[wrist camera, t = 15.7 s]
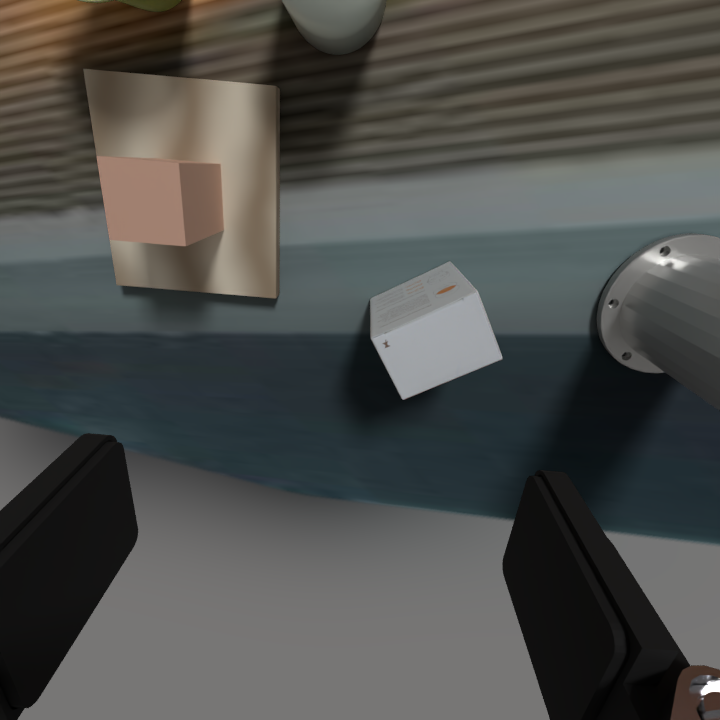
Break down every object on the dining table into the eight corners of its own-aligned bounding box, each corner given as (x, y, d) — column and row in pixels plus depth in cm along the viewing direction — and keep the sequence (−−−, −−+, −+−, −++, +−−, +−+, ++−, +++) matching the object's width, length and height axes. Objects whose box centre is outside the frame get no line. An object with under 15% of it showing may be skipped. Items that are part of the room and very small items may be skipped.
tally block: (220, 163, 34) (178, 162, 26) (223, 230, 36) (185, 246, 28) (156, 158, 34) (96, 155, 26) (163, 224, 36) (109, 240, 28)
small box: (393, 348, 41) (400, 403, 32) (368, 297, 39) (367, 339, 30) (473, 314, 40) (505, 361, 30) (451, 258, 38) (478, 290, 28)
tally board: (279, 89, 33) (275, 85, 31) (279, 293, 39) (276, 298, 38) (95, 72, 33) (83, 68, 31) (125, 280, 39) (116, 285, 38)
